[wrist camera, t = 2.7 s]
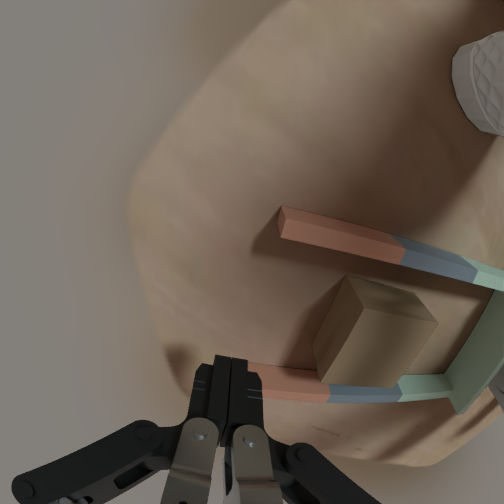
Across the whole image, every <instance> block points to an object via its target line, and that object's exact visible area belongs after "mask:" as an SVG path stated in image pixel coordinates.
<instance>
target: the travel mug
mask: <svg viewBox="0 0 504 504" xmlns="http://www.w3.org/2000/svg"><path fill="white" fill-rule="evenodd" d="M487 386H488V387H489V389H490V390H491V392H492V393H493V395H494V396H495V398H496V400H497V401H498V403H499V405H500V406H501V408H502V410H503V411H504V364H503V365H502V367H501V368H500V369H499V371H498V372H497V373H496V375H495V376H494V377H493V379H492V380H491V381H490V383H489V384H488V385H487Z"/></svg>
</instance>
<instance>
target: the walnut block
mask: <svg viewBox="0 0 504 504" xmlns="http://www.w3.org/2000/svg"><path fill="white" fill-rule="evenodd" d="M437 325H438V322H437V321H436V319H435V318H434V317H433V315H432V314H431V313H430V312H429V310H428V309H427V308H426V307H425V305H424V304H423V303H422V302H421V301H420V299H419V298H418V297H417V296H416V294H415V293H413V292H409V291H406V290H402V289H398V288H394V287H390V286H387V285H383V284H379V283H375V282H371V281H368V280H364V279H360V278H356V277H353V276H349V275H345V277H344V279H343V282H342V284H341V286H340V288H339V290H338V292H337V295H336V297H335V299H334V301H333V303H332V305H331V307H330V309H329V311H328V313H327V315H326V317H325V319H324V321H323V323H322V325H321V327H320V329H319V331H318V333H317V335H316V337H315V339H314V341H313V343H312V349H313V353H314V358H315V362H316V367H317V371H318V376H319V380H320V383H327V384H337V385H348V386H362V387H379V388H393V387H394V385H395V384H396V383H397V382H398V380H399V379H400V378H401V377H402V375H403V374H404V373H405V371H406V370H407V369H408V367H409V366H410V365H411V363H412V362H413V361H414V359H415V358H416V356H417V355H418V354H419V352H420V351H421V349H422V348H423V346H424V345H425V343H426V342H427V340H428V339H429V337H430V336H431V334H432V333H433V331H434V330H435V328H436V326H437Z"/></svg>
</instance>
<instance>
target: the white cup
mask: <svg viewBox="0 0 504 504" xmlns="http://www.w3.org/2000/svg"><path fill="white" fill-rule="evenodd" d="M451 77H452V81H453V85H454V89H455V93H456V97H457V100H458V102H459V103H460V105H461V107H462V109H463V111H464V113H465V115H466V117H467V118H468V119H469V120H470V121H471V122H472V123H473V124H474V125H475V126H476V127H477V128H478V129H479V130H480V131H483V132H487V133H490V134H493V135H498V136H503V137H504V30H502V31H499V32H496V33H493V34H491V35H487V36H486V37H485V38H483V39H481V40H478V41H475V42H472V43H469V44H466V45H463V46H460V47H459V49H458V51H457V52H456V54H455V55H454V57H453V59H452V76H451Z"/></svg>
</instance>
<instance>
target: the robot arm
mask: <svg viewBox="0 0 504 504" xmlns="http://www.w3.org/2000/svg"><path fill="white" fill-rule="evenodd" d="M262 398H263V396H262V381H261V379H260V377H259V375H258V373H257V372H251V371H248V360H245V359H239V358H233V357H232V358H231V357H226V356H221V355H215V358H214V363H213V365H209V364H204V363H202V364H201V365H200V366H199V368H198V369H197V370H196V373H195V378H194V383H193V389H192V394H191V399H190V404H189V410H188V415H187V417H186V419H185V420H184V421H183V422H182V423H181V424H179V425H177V426H173V427H158V426H157V425H156V424H155V423H153V422H151V421H147V420H138V421H135V422H133V423H131V424H129V425H127V426H125V427H123V428H121V429H120V430H118V431H116V432H114V433H112V434H110V435H108V436H106V437H104V438H102V439H100V440H98V441H96V442H94V443H92V444H90V445H88V446H86V447H84V448H82V449H80V450H78V451H75V452H73V453H71V454H69V455H67V456H64V457H62V458H60V459H58V460H56V461H53V462H51V463H48V464H46V465H43V466H41V467H39V468H36V469H34V470H31V471H29V472H26V473H23V474H21V475H18V476H16V477H15V478H14V480H13V481H12V493H13V495H14V497H15V498H16V500H17V501H18V502H19V503H20V504H104V503H106V502H108V501H109V500H111V499H113V498H115V497H117V496H119V495H120V494H122V493H124V492H126V491H127V490H129V489H131V488H133V487H134V486H136V485H138V484H139V483H141V482H142V481H144V480H146V479H147V478H149V477H151V476H152V475H154V474H155V473H157V472H158V471H160V470H168V469H170V471H169V474H168V477H167V481H166V484H165V487H164V491H163V495H162V498H161V502H160V504H207V502H208V496H209V491H210V485H211V474H212V469H213V463H214V458H215V452H216V448H217V446H218V445H219V442H220V447H225V456H224V459H223V488H224V500H223V504H283V500H282V498H283V499H284V500H285V501H286V502H287V503H288V504H381V503H380V502H379V501H377V500H376V499H375V498H373V497H372V496H371V495H369V494H368V493H367V492H366V491H364V490H363V489H362V488H361V487H359V486H358V485H357V484H356V483H354V482H353V481H352V480H351V479H349V478H348V477H347V476H346V475H345V474H344V473H342V472H341V471H340V470H339V469H338V468H336V467H335V466H334V465H333V464H332V463H331V462H330V461H329V460H327V459H326V458H325V457H324V456H323V455H322V454H321V453H320V452H319V451H317V450H316V449H315V448H314V447H313V446H311V445H309V444H307V443H295V444H293V445H291V446H289V445H286V444H283V443H280V442H278V441H275V440H273V439H272V438H271V437H269V436H268V434H267V433H266V431H265V429H264V422H263V400H262Z"/></svg>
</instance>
